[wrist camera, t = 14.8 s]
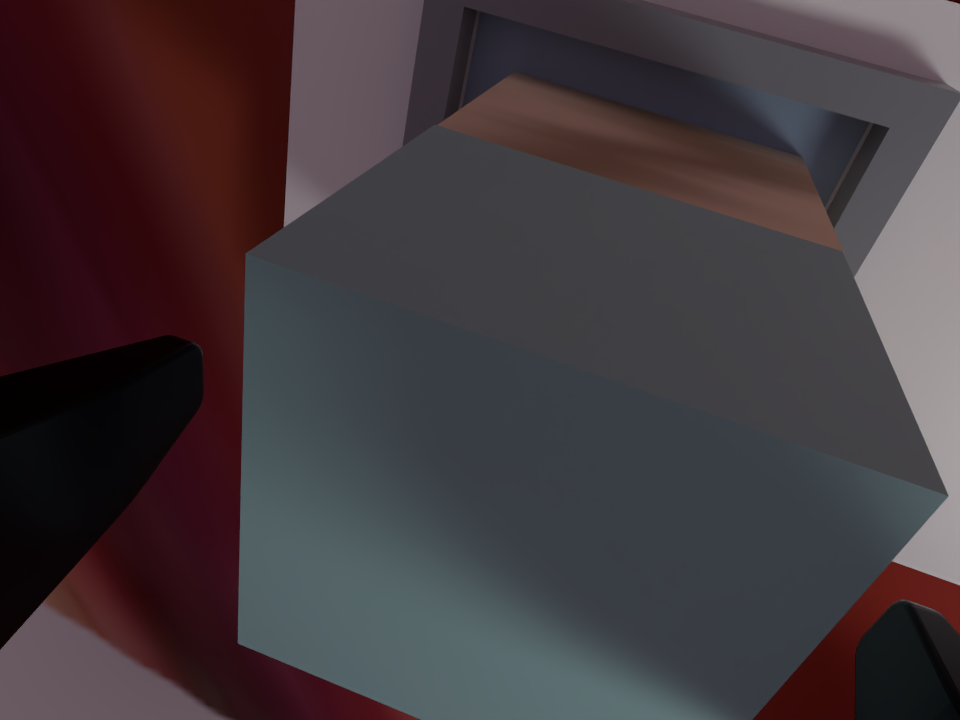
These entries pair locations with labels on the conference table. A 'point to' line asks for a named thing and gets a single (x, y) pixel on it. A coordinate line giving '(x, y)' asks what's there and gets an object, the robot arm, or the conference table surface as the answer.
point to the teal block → (559, 445)
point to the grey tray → (706, 103)
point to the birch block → (650, 153)
